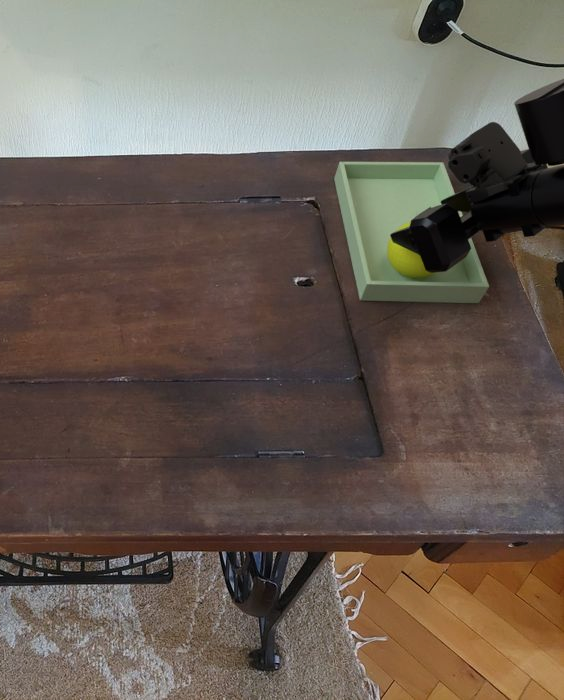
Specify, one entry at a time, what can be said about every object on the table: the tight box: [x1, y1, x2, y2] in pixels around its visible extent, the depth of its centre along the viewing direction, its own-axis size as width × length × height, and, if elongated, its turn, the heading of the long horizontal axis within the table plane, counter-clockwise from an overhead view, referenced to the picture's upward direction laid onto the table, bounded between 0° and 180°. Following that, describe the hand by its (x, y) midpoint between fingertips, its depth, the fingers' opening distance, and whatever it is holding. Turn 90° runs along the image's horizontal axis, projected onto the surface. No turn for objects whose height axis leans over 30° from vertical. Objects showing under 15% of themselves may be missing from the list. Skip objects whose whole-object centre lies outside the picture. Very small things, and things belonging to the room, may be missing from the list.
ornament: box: [387, 211, 437, 278], centre depth 79 cm, size 7×7×10 cm
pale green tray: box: [333, 161, 490, 304], centre depth 86 cm, size 14×23×3 cm, turn 176°
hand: (417, 220), depth 78 cm, fingers open, 9 cm apart
